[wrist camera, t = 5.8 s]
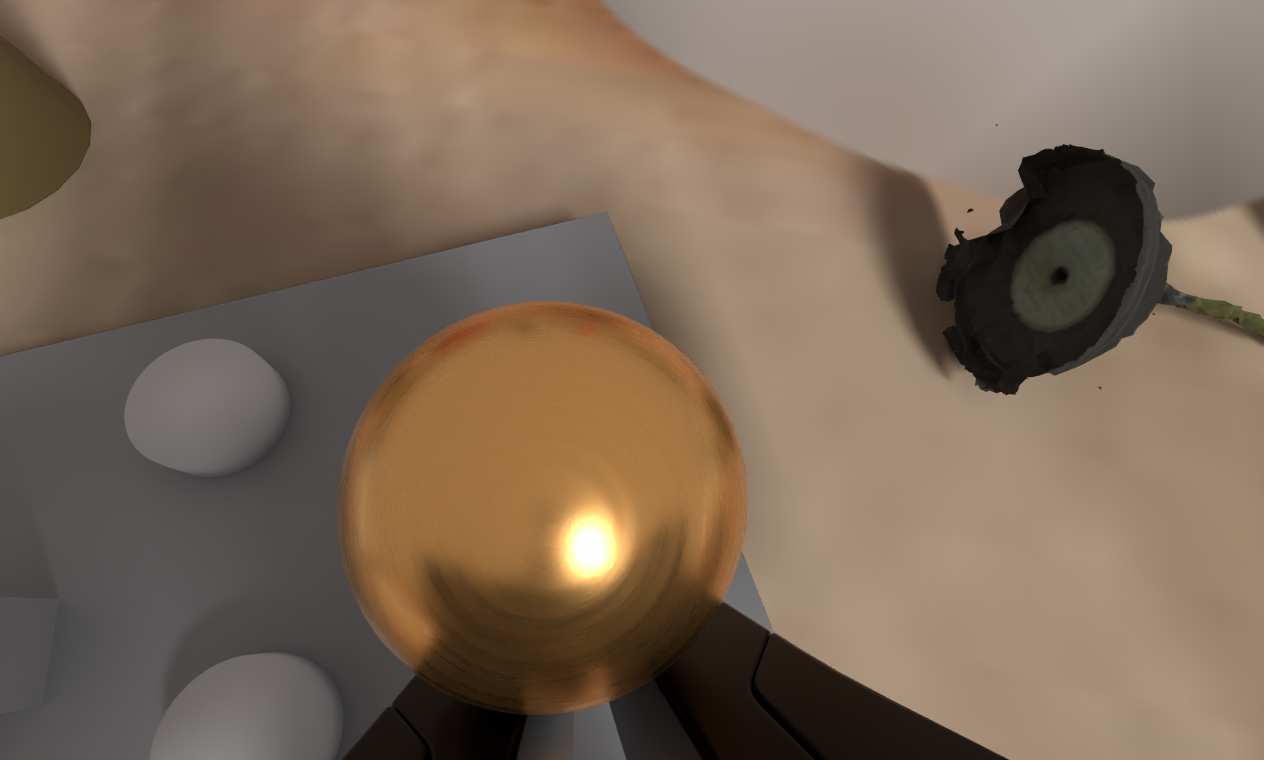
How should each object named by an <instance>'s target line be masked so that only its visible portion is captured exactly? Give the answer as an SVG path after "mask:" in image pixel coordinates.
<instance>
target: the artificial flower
mask: <svg viewBox="0 0 1264 760" xmlns="http://www.w3.org/2000/svg"><path fill="white" fill-rule="evenodd" d="M996 126H997V125H996ZM1018 171H1019V175H1020V178H1021V180H1022V183H1023V185H1024V188H1022V189H1020V190H1018V191H1017V192H1016V193H1014V194H1013V195H1012V196H1010V197H1009V198H1008V199H1007V200H1006V201H1005V202H1004V204H1003V206H1002V207H1001V209H1000V211H999V212H1000V218H1001V223H1002V225H1001V226H999V227H998V228H996V229H995V230H993V231H992V232H990V233H989V234H987V235H985V236H982V237H978V238H975V239H972V240H967V239H965V238H963V236H962V234H963V233H964V231H959V230H958V229H957V228H956V229H955V232H954V233H955V236H956V237H957V239H958V240H959V243H960V244H958V245H956V246H953V245H951V244H949V245H948V248H947V250H946V253H945V259H947V262H946V264H945V265H944V266H943V267H941V273H940V276H939V279H938V282H937V289H936V292H937V296H938V297H939V299H940V300H941V301H951V300H952V299H953V298H954V297H955V296H957V297H956V300H955V303H954V306H955V321H956V326H952V327H948V328H947V329H946V330H945V331H943V333H944V334H946V335H947V336H948V338H949V339H950V340H951V343H952V347H953V350H954V351H956V352H955V354H956V356H957V358H958V360H959V362H960V363H961V364H962V365H965V366H966V367H965V369H966V370H968V372H971V373H973V375H974V376H975V377H976V382H975V386H976V385H978V386H979V388H980V389H981V390H983V391H986V392H987V391H989V390H990V391H993V392H995V393H999V392H1002V393H1003V394H1005V395H1008V394H1014V395H1016V394H1015V393H1016V392H1017V391H1018V389H1019V386H1020V384H1021V383H1022V382H1023V381H1024V380H1025V379H1027V377H1035V376H1039V375H1042V374H1045V373H1051V374H1053V375H1058V374H1060V373H1063V372H1065V371H1068V370H1070V369H1073V368H1076V367H1078V366H1080V365H1082V364H1084V363H1086V362H1088V361H1090V360H1092V359H1094V358H1096V357H1097V356H1099V355H1101V354H1103V353H1105V352H1107V351H1109V350H1111V349H1112V348H1114V347H1116V346H1117V344H1118V343H1119V342H1120V340H1121V339H1122V338H1125V337H1128V336H1131V335H1133V334H1134V333H1135V331H1136V329H1137V328H1138V327H1139V326H1140V325H1141V324H1142V323H1143V322H1144V321H1145V320H1147V318H1148V317H1149V315H1150V313H1151V312H1152V310H1153V309H1154V307H1155V305H1156V304H1157V303H1160V304H1166V305H1175V306H1176V307H1179V308H1185V309H1188V310H1190V311H1193V312H1196V313H1199V314H1204V315H1209V316H1215V317H1216V318H1217V319H1218V320H1219V321H1220V320H1223V319H1228V320H1233V321H1234V322H1236V323H1238V324H1239V325H1241V326H1243V327H1245V328H1247V329H1249V330H1251V331H1253V332H1256V333H1258V334H1260V335H1261V337H1263V338H1264V320H1263V319H1262V317H1261V316H1260V315H1259V314H1255V313H1250V312H1246V311H1242V306H1236V305H1232V304H1230V303H1228V302H1225V301H1218V300H1208V299H1203V298H1199V297H1195V296H1191V295H1187V294H1184V293H1182V292H1180V291H1178V290H1176V289H1174V288H1173V287H1172V286H1171V285H1169V284H1168V283H1166V281H1167V271H1168V262H1169V259H1170V256H1171V253H1172V245H1171V244H1170V243H1169V241H1168V240H1167V239H1166V238H1165V237H1164V235H1163V234H1162V233H1161V232H1160V229H1161V221H1162V219H1163V216H1162V214H1161V213H1160V212H1159V211H1158V208H1157V201H1156V198H1155V196H1154V193H1153V188H1154V185H1155V183H1154V182H1153V181H1152V180H1151V179H1150V178H1149V177H1148V176H1147V175H1146V174H1145V173H1144V172H1143V171H1142V170H1141V169H1140V168H1139V167H1138V166H1135V165H1132V164H1129V163H1127V162H1124V161H1121V160H1120V159H1117V158H1115V157H1113V156H1110V155H1107V154H1105V152H1104V150H1103V149H1101V150H1092V149H1088V148H1084V147H1077V146H1073V145H1069V146H1068V145H1064V144H1063V145H1062V146H1059V147H1057V146H1056V147H1055V148H1054V150H1052V149H1044V150H1042V151H1040V152H1038V153H1037V154H1035V155H1032V156H1028V157H1023V159H1022V163H1021V165H1020V167H1019V169H1018ZM972 211H973V209H969V210H968V212H967V213H969V212H972ZM1152 314H1153V315H1155V314H1154V313H1152ZM1098 388H1099V389H1100V390H1101V388H1102V387H1098Z"/></svg>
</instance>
